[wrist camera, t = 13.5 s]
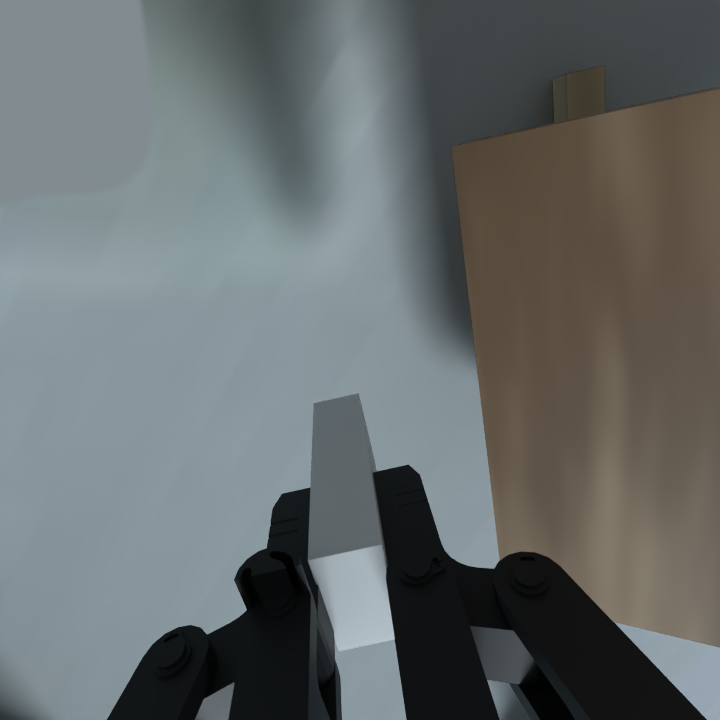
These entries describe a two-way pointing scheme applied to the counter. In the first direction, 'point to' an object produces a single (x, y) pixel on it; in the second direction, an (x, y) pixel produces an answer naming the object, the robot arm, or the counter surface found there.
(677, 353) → the footstool
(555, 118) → the oak batten
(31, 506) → the counter surface
